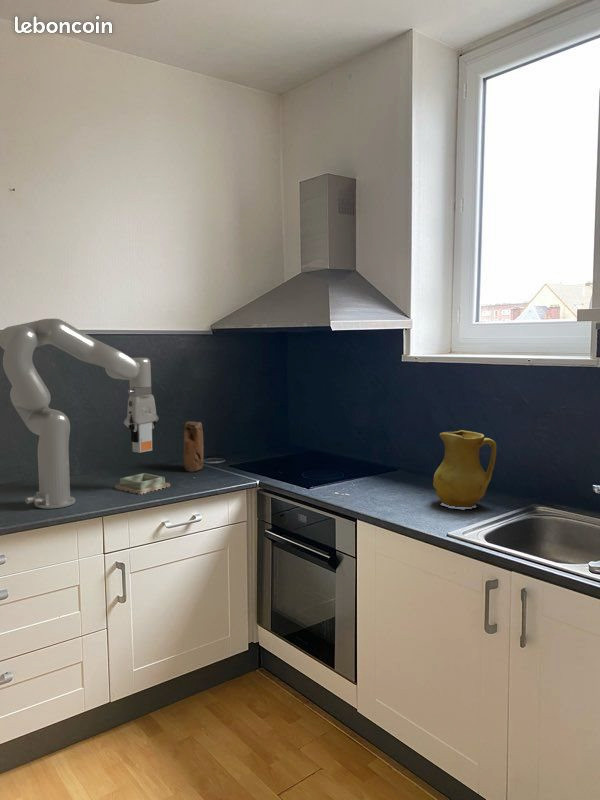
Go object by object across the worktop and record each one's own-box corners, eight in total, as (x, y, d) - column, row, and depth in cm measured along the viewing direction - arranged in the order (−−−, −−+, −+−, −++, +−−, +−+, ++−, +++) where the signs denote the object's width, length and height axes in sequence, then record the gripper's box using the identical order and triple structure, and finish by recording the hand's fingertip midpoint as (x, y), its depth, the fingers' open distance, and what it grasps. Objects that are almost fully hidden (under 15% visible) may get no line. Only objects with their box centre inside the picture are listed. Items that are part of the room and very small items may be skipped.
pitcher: (445, 494, 222) (450, 425, 218) (496, 506, 210) (502, 433, 206) (422, 506, 209) (426, 432, 205) (475, 519, 197) (481, 442, 193)
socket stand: (140, 494, 221) (140, 484, 221) (114, 488, 230) (114, 478, 229) (170, 486, 233) (169, 477, 232) (144, 481, 241) (144, 471, 241)
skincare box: (139, 453, 226) (138, 420, 225) (132, 451, 229) (131, 419, 227) (153, 450, 231) (152, 418, 230) (145, 449, 234) (144, 417, 232)
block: (187, 466, 267) (186, 420, 265) (204, 467, 267) (204, 420, 265) (182, 472, 257) (181, 424, 254) (200, 472, 256) (199, 424, 254)
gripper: (128, 394, 218) (130, 445, 220) (165, 390, 232) (167, 438, 234) (114, 393, 223) (116, 443, 225) (152, 389, 237) (153, 436, 239)
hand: (142, 440), depth 229 cm, fingers closed on skincare box, 6 cm apart
